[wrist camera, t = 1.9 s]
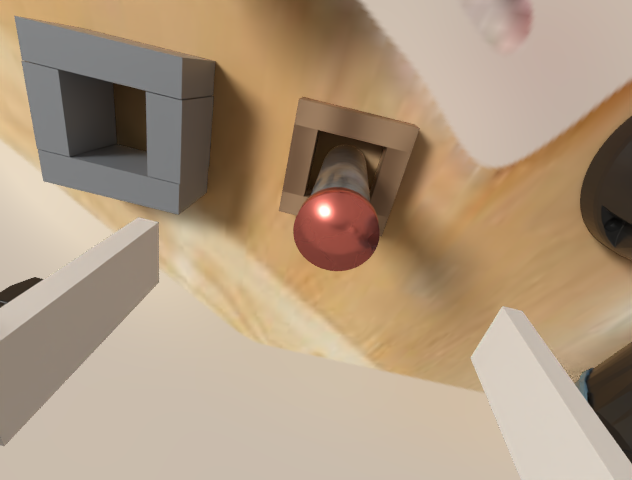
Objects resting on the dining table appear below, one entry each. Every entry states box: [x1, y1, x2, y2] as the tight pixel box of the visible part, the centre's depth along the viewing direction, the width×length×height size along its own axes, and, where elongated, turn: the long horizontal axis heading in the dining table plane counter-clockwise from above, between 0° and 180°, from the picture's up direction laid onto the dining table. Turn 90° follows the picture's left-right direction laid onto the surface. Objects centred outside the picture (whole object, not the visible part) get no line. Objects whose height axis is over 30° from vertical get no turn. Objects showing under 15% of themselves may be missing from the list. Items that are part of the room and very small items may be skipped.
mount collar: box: [279, 97, 420, 236], centre depth 30 cm, size 10×10×2 cm
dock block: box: [15, 16, 215, 215], centre depth 28 cm, size 12×12×6 cm
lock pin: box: [294, 144, 380, 271], centre depth 24 cm, size 5×5×15 cm
